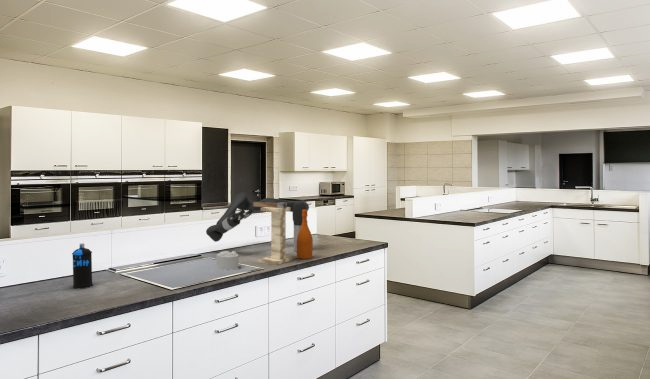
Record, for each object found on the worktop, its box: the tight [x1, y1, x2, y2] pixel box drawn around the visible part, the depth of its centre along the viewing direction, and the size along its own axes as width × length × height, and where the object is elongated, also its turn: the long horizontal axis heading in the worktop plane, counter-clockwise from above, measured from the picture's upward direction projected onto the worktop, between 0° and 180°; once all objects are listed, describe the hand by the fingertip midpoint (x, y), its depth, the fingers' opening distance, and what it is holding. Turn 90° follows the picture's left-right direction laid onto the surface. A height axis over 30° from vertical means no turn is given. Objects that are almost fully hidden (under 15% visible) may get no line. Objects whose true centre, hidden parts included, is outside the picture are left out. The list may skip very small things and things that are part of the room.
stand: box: [258, 207, 293, 266], centre depth 263 cm, size 16×13×32 cm
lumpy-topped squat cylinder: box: [215, 250, 240, 270], centre depth 248 cm, size 10×13×9 cm
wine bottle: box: [296, 209, 314, 260], centre depth 273 cm, size 10×10×30 cm
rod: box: [252, 201, 287, 208], centre depth 264 cm, size 4×22×3 cm, turn 61°
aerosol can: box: [71, 242, 94, 289], centre depth 207 cm, size 8×8×20 cm
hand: (248, 210), depth 272 cm, fingers open, 8 cm apart
